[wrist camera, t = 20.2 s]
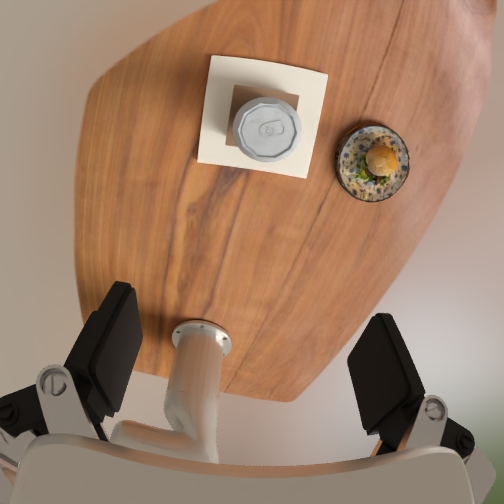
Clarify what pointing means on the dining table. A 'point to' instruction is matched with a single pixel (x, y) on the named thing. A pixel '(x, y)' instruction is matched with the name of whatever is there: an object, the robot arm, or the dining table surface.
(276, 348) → the dining table surface
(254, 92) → the walnut block
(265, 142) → the beer can
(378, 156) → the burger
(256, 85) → the stone tile
